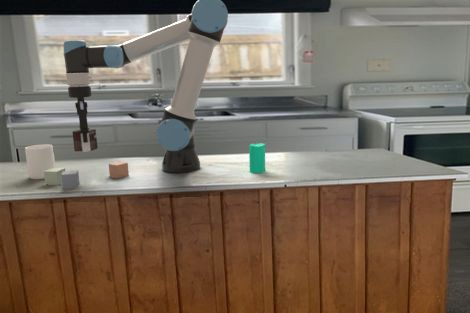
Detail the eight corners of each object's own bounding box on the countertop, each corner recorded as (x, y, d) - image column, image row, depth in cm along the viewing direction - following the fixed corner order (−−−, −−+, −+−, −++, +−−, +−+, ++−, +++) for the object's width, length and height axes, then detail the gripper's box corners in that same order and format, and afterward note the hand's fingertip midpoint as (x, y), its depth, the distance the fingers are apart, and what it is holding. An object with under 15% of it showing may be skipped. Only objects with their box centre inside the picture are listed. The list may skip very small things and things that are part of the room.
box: (89, 151, 145) (87, 131, 144) (74, 151, 146) (71, 131, 145) (98, 148, 151) (96, 129, 149) (83, 148, 152) (81, 129, 151)
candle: (267, 170, 158) (267, 139, 156) (261, 173, 153) (261, 142, 150) (253, 169, 161) (252, 138, 158) (247, 172, 155) (246, 141, 153)
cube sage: (66, 181, 149) (65, 168, 148) (58, 185, 144) (56, 171, 143) (54, 181, 150) (52, 167, 149) (45, 185, 145) (43, 171, 144)
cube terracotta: (128, 175, 155) (127, 162, 154) (117, 178, 151) (116, 165, 150) (120, 173, 158) (119, 161, 157) (109, 176, 155) (108, 163, 154)
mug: (24, 180, 152) (19, 149, 150) (39, 172, 164) (35, 143, 161) (49, 179, 152) (45, 148, 150) (62, 171, 164) (59, 142, 161)
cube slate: (79, 183, 145) (78, 170, 144) (78, 187, 141) (76, 173, 140) (64, 185, 144) (63, 171, 143) (62, 189, 139) (61, 174, 138)
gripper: (91, 86, 136) (98, 153, 140) (89, 84, 155) (95, 143, 159) (67, 87, 133) (75, 155, 138) (68, 85, 152) (75, 145, 157)
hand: (86, 149), depth 149 cm, fingers closed on box, 8 cm apart
